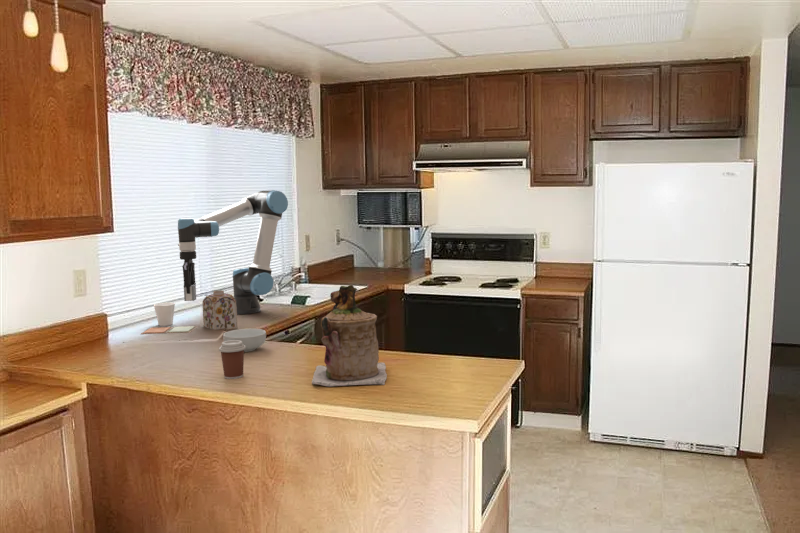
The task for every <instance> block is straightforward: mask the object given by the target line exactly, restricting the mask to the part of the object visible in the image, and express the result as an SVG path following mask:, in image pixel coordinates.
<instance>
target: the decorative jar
mask: <svg viewBox="0 0 800 533" xmlns="http://www.w3.org/2000/svg"><path fill="white" fill-rule="evenodd" d="M202 317H203V318H202V320H203V327H204V328H207V329H210V330H214V331H217V330H221V329H222V330H223V329H224V330H223V331H224V332H225V330H227V331H232V330H237V329H238V314H237V309H236V300H235V299H234V295H233V294H231V293H225V291H224V290H222V289H218V290H214V291H213V294H208V295H206V296H205V297H204V299H203V300H202ZM231 329H232V330H231Z"/></svg>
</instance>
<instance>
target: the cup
mask: <svg viewBox="0 0 800 533" xmlns="http://www.w3.org/2000/svg"><path fill="white" fill-rule="evenodd" d="M153 307H154V312H155V315H156V319H157V320H156V321H157V324H158V326H159V327H160V326H161V327H166V326H167V327H168V326H171V325H173V324H174V317H175V315H174V314H175V307H176V302H172V301H171V302H170V301H169V302H158V303H154V304H153Z"/></svg>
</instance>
